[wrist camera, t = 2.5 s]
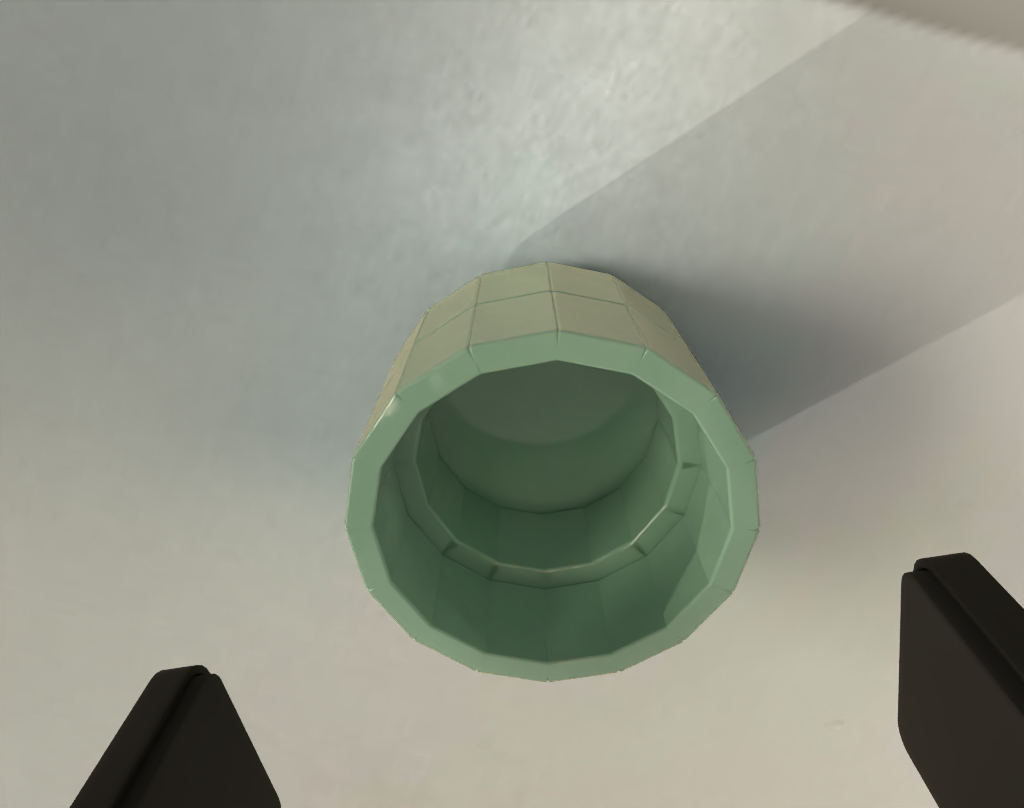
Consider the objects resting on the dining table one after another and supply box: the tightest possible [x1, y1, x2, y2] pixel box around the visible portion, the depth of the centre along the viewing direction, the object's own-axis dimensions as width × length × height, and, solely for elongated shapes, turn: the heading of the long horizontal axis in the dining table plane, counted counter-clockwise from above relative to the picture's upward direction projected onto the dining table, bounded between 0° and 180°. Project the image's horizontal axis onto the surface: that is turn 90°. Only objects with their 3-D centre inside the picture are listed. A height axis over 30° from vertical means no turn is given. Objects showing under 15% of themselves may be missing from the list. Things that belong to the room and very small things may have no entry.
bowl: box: [345, 262, 760, 682], centre depth 14 cm, size 7×7×5 cm
